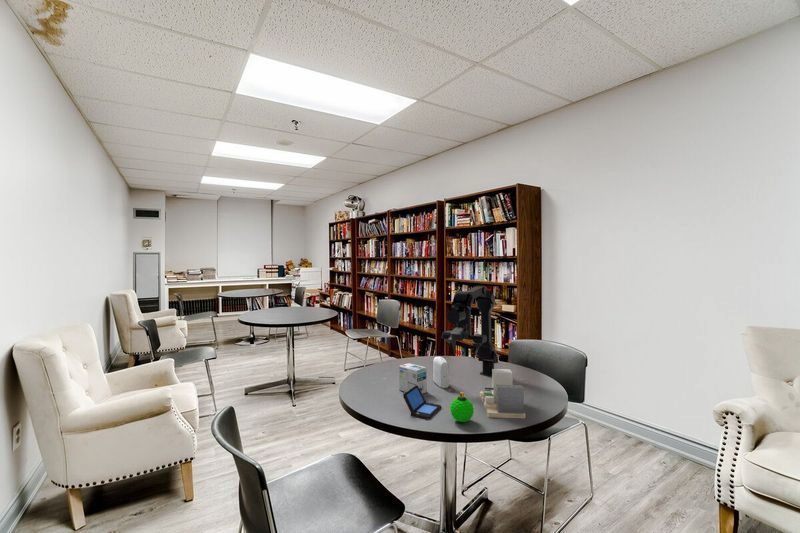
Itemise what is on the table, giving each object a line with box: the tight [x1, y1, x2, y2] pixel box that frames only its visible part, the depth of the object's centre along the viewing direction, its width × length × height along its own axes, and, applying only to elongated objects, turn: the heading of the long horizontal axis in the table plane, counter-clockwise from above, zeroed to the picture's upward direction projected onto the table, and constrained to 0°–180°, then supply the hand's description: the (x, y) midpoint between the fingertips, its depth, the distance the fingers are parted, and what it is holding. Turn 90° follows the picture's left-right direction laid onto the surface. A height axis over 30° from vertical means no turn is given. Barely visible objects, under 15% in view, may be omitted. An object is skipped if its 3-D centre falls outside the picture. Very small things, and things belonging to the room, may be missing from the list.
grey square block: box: [496, 384, 525, 413], centre depth 129 cm, size 3×9×9 cm, turn 85°
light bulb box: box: [398, 362, 428, 395], centre depth 154 cm, size 11×7×11 cm, turn 47°
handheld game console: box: [402, 385, 442, 420], centre depth 133 cm, size 12×11×7 cm
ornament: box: [449, 391, 475, 423], centre depth 124 cm, size 8×8×10 cm
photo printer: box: [432, 356, 450, 389], centre depth 162 cm, size 10×4×12 cm, turn 17°
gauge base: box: [479, 388, 527, 419], centre depth 138 cm, size 22×13×4 cm, turn 175°
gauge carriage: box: [484, 368, 514, 398], centre depth 142 cm, size 8×10×10 cm
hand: (463, 356), depth 154 cm, fingers open, 9 cm apart
